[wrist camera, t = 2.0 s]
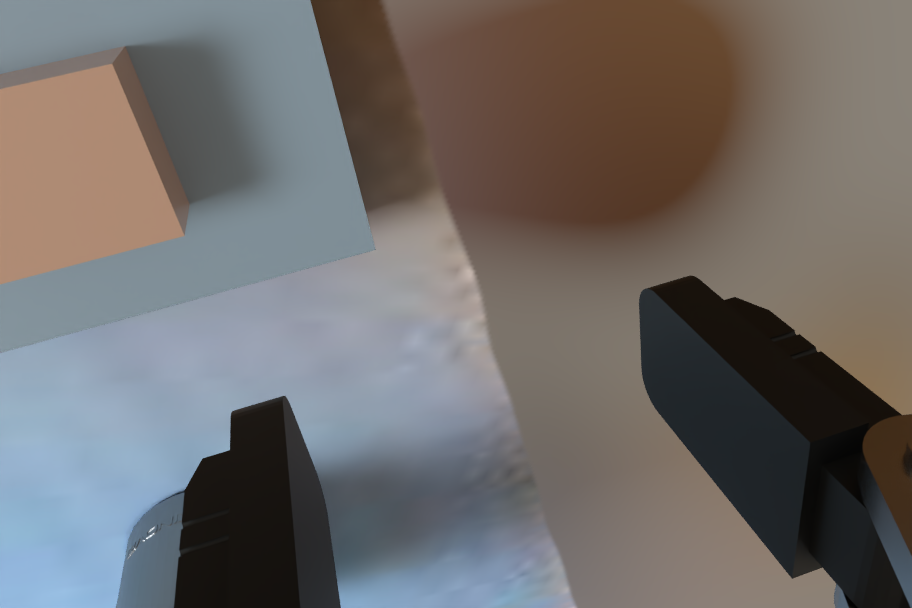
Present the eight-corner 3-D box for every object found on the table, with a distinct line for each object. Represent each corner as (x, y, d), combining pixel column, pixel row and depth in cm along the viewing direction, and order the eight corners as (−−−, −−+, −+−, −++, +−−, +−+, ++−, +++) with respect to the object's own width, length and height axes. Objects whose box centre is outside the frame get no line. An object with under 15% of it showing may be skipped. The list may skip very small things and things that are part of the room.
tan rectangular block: (124, 45, 24) (111, 63, 22) (189, 204, 27) (184, 236, 25) (-155, 109, 23) (-204, 135, 21) (-54, 267, 26) (-85, 306, 24)
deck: (272, -125, 26) (277, -127, 23) (362, 214, 34) (375, 249, 30) (-318, -6, 24) (-409, 10, 20) (-80, 332, 31) (-118, 385, 28)
